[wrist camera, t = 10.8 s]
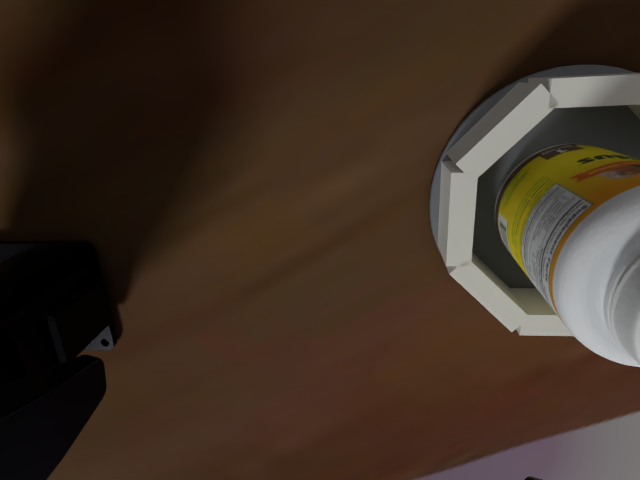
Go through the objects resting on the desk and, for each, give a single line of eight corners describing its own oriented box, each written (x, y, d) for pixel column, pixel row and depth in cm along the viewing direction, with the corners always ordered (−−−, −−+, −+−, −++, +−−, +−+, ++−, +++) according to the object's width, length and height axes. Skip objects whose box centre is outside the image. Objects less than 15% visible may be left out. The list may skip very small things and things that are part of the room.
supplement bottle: (654, 172, 18) (960, 276, 9) (575, 280, 20) (753, 461, 11) (534, 117, 18) (711, 163, 9) (466, 233, 20) (549, 373, 11)
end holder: (424, 307, 22) (432, 341, 19) (433, 72, 18) (445, 71, 16) (663, 309, 21) (709, 346, 18) (727, 56, 17) (799, 53, 14)
